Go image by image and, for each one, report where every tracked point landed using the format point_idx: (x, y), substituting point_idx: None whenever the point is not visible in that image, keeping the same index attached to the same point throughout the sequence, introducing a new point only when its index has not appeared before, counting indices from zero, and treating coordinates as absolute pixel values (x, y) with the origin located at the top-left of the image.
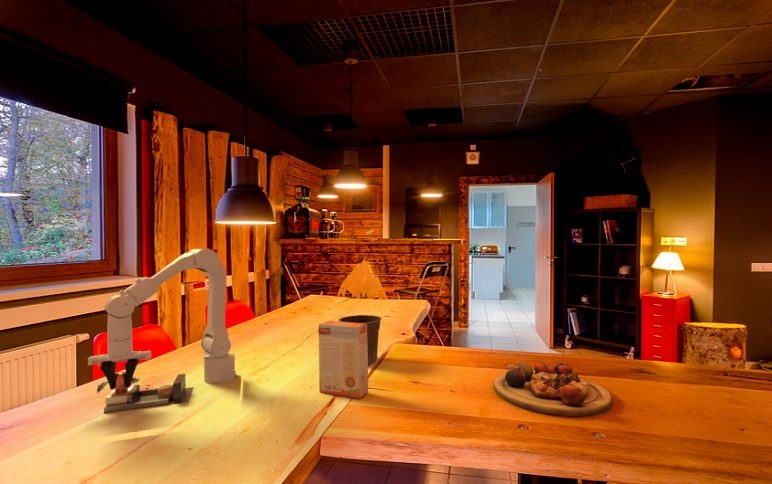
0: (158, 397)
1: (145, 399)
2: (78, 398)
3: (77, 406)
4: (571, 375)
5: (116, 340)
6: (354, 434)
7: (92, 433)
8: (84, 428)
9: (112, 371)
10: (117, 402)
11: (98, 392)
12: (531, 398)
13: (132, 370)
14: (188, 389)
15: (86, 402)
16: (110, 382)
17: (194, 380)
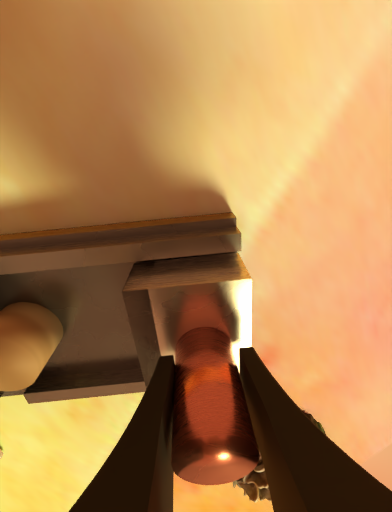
0: (47, 318)
1: (113, 324)
2: (364, 395)
3: (355, 341)
4: None
5: None
6: None
7: (217, 19)
8: (276, 110)
9: (280, 482)
10: (192, 268)
11: (317, 422)
12: None
13: (94, 479)
14: None
15: (334, 364)
16: (262, 379)
17: (44, 455)
